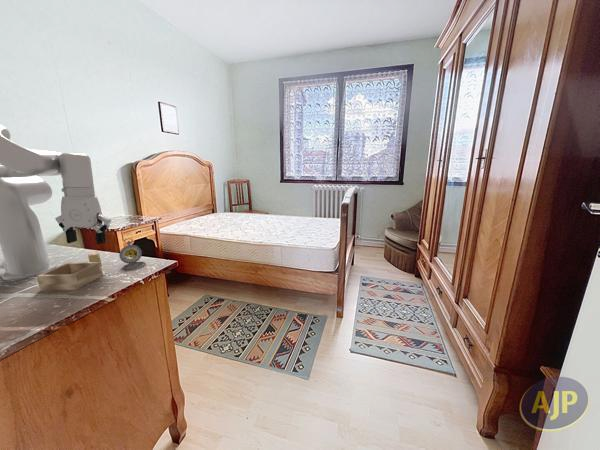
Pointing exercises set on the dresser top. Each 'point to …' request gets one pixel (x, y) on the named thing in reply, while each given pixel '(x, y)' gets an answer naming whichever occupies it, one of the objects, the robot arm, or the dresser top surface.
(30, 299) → the dresser top surface
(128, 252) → the pocket watch
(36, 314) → the dresser top surface
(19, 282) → the dresser top surface
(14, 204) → the robot arm
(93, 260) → the lid
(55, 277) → the keepsake box
